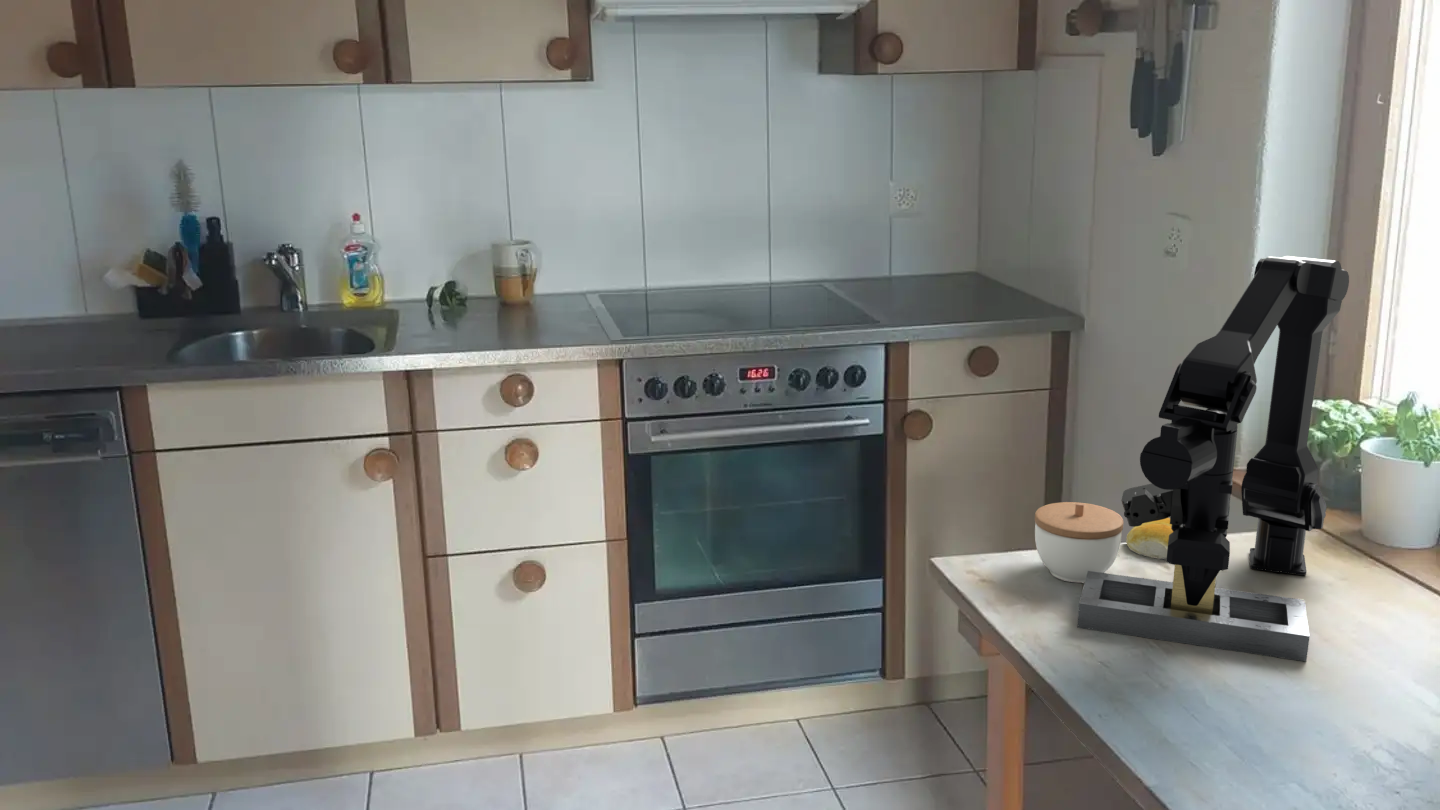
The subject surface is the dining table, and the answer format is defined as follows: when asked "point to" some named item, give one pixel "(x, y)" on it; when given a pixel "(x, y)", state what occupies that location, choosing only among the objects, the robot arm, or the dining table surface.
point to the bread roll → (1150, 538)
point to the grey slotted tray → (1195, 616)
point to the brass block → (1180, 595)
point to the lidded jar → (1077, 539)
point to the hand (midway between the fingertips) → (1192, 596)
